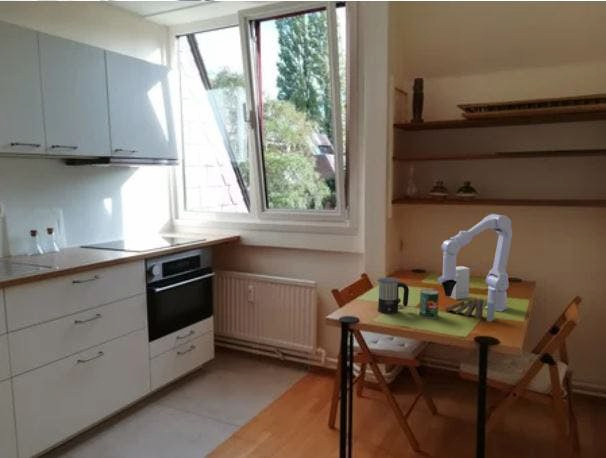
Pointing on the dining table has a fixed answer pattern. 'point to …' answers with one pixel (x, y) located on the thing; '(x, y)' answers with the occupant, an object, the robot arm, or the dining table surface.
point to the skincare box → (461, 283)
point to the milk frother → (391, 295)
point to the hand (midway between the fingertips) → (448, 296)
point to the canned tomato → (429, 303)
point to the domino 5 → (490, 311)
